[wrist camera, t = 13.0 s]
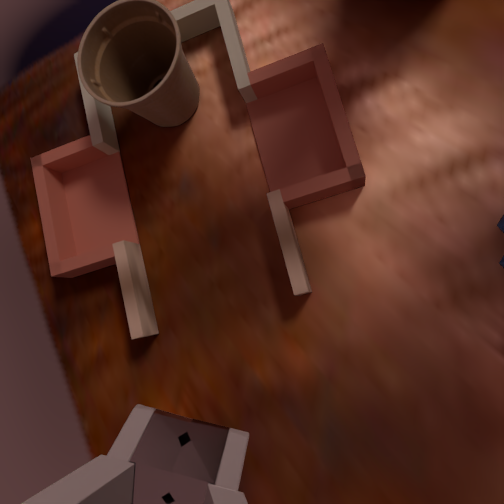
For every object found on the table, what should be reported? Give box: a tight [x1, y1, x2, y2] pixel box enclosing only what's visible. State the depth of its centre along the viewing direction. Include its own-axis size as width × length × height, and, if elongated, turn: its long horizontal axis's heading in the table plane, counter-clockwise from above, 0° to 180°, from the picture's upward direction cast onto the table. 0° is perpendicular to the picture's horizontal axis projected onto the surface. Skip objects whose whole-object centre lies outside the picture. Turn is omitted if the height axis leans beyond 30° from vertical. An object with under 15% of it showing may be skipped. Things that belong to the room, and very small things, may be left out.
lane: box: [112, 189, 312, 339], centre depth 38 cm, size 9×16×3 cm, turn 105°
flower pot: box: [77, 0, 199, 127], centre depth 38 cm, size 9×9×9 cm
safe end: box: [74, 0, 257, 155], centre depth 41 cm, size 10×16×3 cm, turn 105°
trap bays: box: [31, 43, 365, 278], centre depth 40 cm, size 12×30×3 cm, turn 105°
